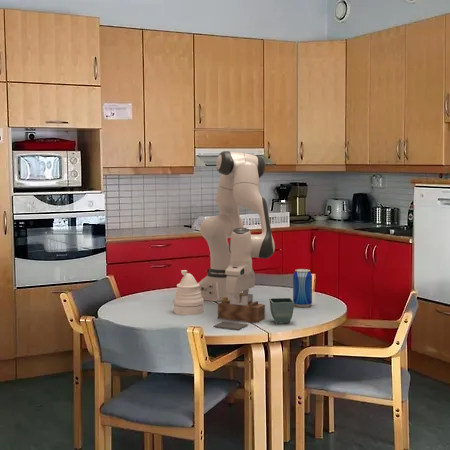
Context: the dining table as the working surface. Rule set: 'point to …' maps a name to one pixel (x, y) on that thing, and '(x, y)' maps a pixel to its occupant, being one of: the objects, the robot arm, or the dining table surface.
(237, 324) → the mat
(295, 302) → the beer can
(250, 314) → the body
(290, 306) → the flower pot
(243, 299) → the lever cap
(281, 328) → the dining table surface
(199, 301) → the honey pot
